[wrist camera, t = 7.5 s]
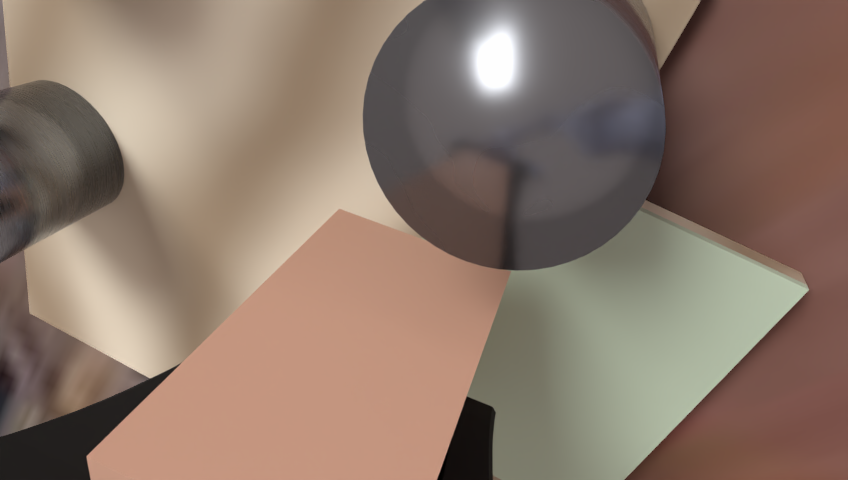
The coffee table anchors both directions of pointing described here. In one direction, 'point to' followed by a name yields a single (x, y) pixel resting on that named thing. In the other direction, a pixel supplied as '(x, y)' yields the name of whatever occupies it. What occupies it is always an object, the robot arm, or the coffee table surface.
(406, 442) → the terracotta block
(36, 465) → the robot arm
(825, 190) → the coffee table surface
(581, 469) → the course board
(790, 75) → the coffee table surface
